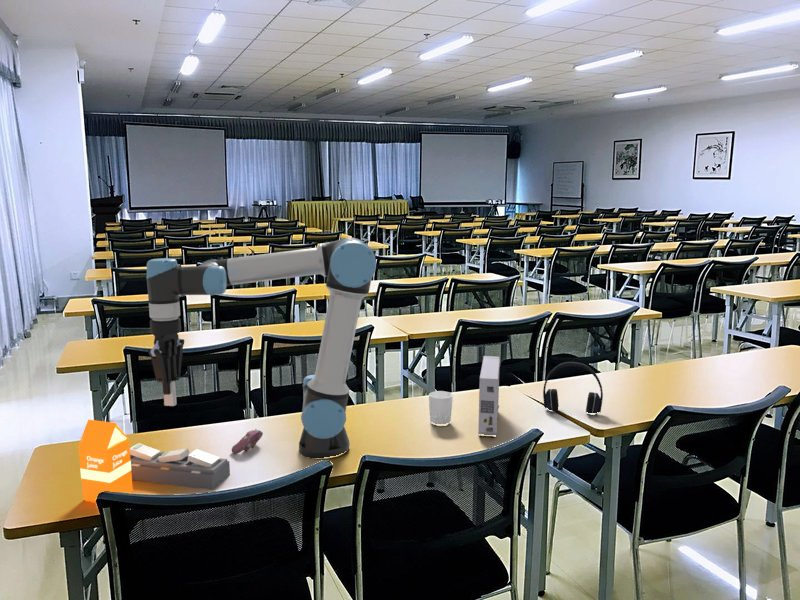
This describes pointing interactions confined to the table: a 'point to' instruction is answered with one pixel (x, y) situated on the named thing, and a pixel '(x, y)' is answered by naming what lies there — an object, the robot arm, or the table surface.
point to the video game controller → (247, 441)
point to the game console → (489, 395)
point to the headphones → (593, 398)
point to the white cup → (440, 407)
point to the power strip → (179, 472)
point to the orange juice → (104, 460)
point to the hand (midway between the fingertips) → (170, 404)
